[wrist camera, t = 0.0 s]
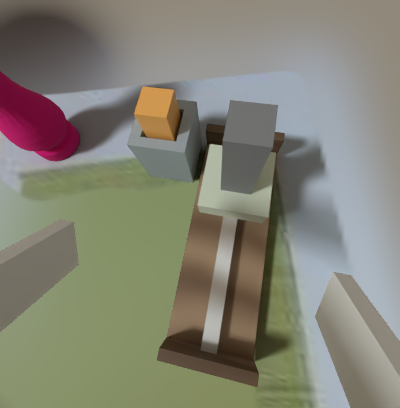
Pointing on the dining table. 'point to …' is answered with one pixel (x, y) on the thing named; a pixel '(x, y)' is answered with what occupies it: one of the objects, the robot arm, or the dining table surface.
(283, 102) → the dining table surface
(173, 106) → the button
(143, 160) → the orange button box
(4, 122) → the pepper mill
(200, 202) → the carriage
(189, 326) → the rail board
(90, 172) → the dining table surface
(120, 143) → the dining table surface
